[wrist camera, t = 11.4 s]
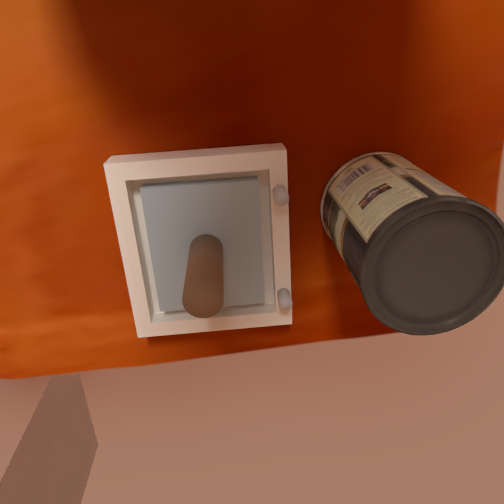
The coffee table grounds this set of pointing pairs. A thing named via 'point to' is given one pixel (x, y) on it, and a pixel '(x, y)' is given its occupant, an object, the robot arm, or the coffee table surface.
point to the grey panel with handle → (205, 243)
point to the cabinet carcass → (200, 168)
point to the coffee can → (413, 244)
